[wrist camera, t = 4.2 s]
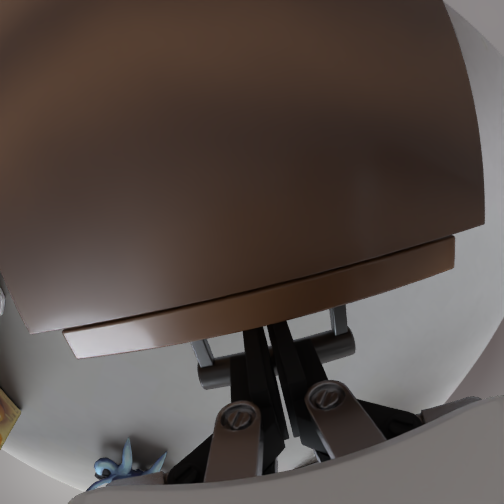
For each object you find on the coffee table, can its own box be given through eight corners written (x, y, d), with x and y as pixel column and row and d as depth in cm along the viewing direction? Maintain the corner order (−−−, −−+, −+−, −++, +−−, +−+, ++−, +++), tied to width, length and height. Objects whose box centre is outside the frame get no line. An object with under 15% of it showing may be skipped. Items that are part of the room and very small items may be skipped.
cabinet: (361, 182, 17) (485, 224, 7) (121, 241, 17) (29, 335, 7) (298, -41, 12) (347, -139, 2) (74, 15, 12) (-16, -47, 2)
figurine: (180, 444, 25) (190, 513, 18) (154, 477, 29) (160, 528, 22) (85, 427, 21) (81, 500, 14) (82, 464, 25) (82, 518, 18)
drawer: (369, 287, 18) (441, 367, 10) (162, 337, 18) (134, 441, 10) (305, -17, 12) (353, -100, 4) (79, 39, 12) (-4, -10, 4)
